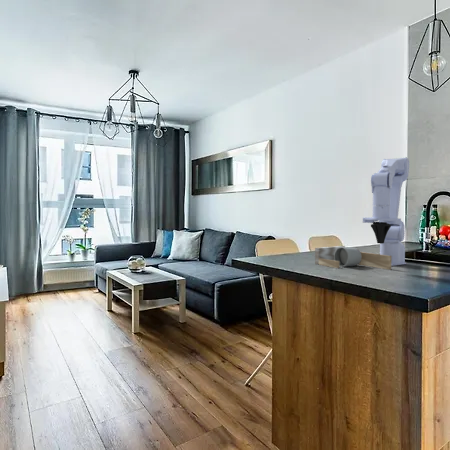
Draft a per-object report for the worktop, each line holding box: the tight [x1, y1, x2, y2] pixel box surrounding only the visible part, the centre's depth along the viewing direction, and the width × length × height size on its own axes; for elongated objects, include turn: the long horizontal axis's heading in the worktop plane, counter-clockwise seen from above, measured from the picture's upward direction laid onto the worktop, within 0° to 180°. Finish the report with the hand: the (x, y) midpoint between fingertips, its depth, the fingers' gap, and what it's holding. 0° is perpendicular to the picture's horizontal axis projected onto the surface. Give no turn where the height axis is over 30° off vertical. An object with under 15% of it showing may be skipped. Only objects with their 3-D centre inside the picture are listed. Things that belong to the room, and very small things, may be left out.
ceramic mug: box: [333, 246, 362, 268], centre depth 143 cm, size 11×8×8 cm
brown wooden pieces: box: [314, 245, 392, 270], centre depth 140 cm, size 15×24×6 cm, turn 30°
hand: (380, 243), depth 131 cm, fingers closed
